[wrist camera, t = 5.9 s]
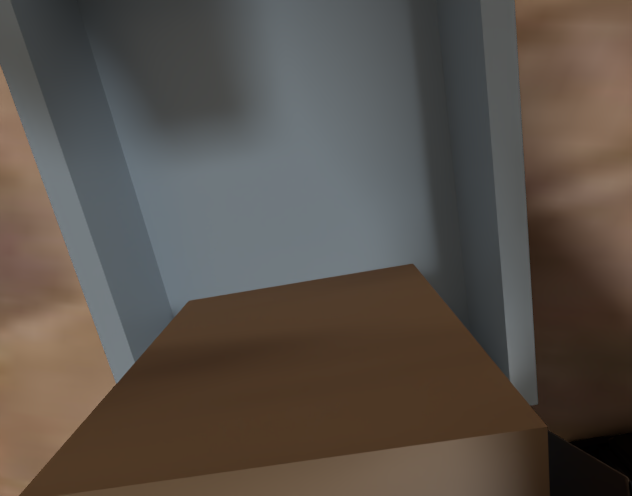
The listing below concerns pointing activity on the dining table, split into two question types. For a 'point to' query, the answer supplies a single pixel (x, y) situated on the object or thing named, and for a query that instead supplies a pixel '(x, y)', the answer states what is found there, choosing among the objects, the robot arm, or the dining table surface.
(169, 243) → the tote
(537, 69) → the dining table surface
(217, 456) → the walnut block
